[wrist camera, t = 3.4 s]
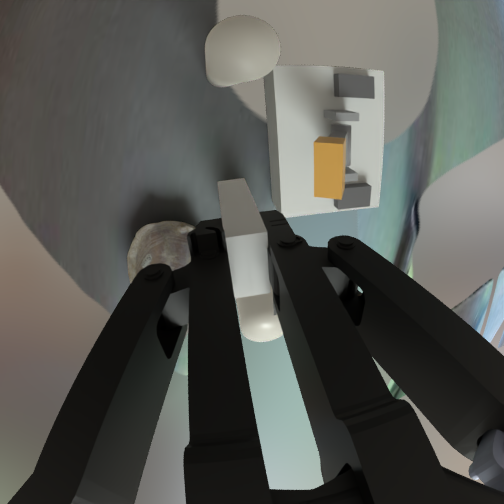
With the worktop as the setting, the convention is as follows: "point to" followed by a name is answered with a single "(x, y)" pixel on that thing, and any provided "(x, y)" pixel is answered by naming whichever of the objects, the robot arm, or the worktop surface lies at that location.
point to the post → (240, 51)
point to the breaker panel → (323, 134)
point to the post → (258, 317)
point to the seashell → (159, 246)
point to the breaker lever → (332, 162)
